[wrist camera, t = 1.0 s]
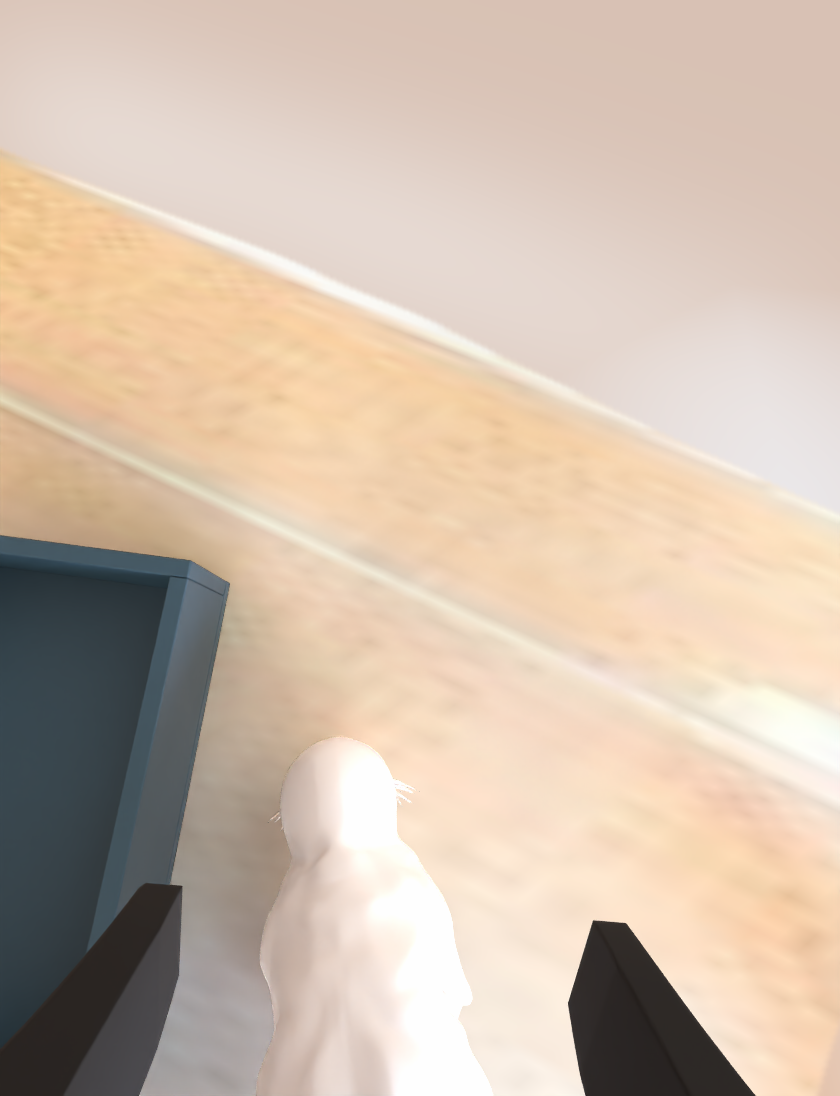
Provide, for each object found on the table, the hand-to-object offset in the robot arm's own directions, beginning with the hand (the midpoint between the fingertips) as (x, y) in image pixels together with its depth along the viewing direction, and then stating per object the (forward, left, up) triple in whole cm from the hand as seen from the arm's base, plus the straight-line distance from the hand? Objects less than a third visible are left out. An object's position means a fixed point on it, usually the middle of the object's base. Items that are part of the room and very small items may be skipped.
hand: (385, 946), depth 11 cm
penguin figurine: (-3, +1, -12) cm, 13 cm away
